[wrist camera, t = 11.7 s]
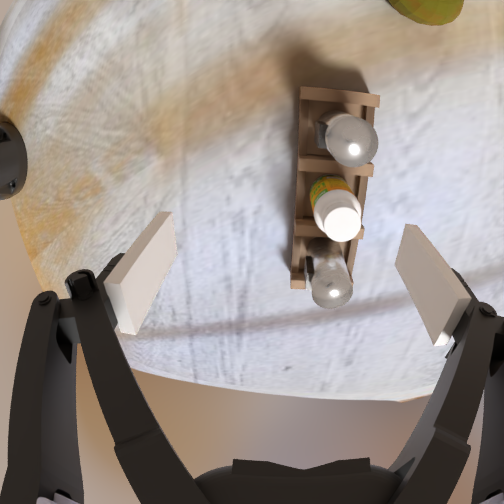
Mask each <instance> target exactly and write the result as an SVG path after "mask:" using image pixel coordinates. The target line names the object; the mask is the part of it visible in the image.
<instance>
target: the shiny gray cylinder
mask: <svg viewBox="0 0 504 504" xmlns="http://www.w3.org/2000/svg"><path fill="white" fill-rule="evenodd" d="M314 142H315V144H316V145H317V147H318V148H324V149H326V148H327V149H328V151H329V152H330V153H331V155H332V156H333V157H334V159H335V160H336V161H338V162H339V163H340V164H342V165H344V166H347V167H360V166H363V165H365V164H367V163H368V162H370V161H371V160H372V159H373V157H374V156H375V154H376V152H377V149H378V137H377V134H376V131H375V129H374V128H373V127H372V125H371V124H370V123H368V122H367V121H365V120H364V119H361V118H359V117H356V116H353V115H350V114H347V113H345V112H342V111H338V110H331V111H328V112H326V113H324V114H323V115H322V116H321V117H320V118H319V120H318V121H315V136H314Z"/></svg>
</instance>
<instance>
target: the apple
mask: <svg viewBox="0 0 504 504" xmlns="http://www.w3.org/2000/svg"><path fill="white" fill-rule="evenodd" d="M389 2H390V4H391V5H392V7H394V8H395V9H396V10H397V11H398V12H399V13H400V14H402V15H404V16H406V17H408V18H409V19H411V20H413V21H415V22H417V23H420V24H426V25H431V26H433V25H444V24H447V23H450V22H452V21H453V20H454V19H455V18H456V17H457V16H459V14H460V12H461V10H462V7H463V2H464V0H389Z"/></svg>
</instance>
